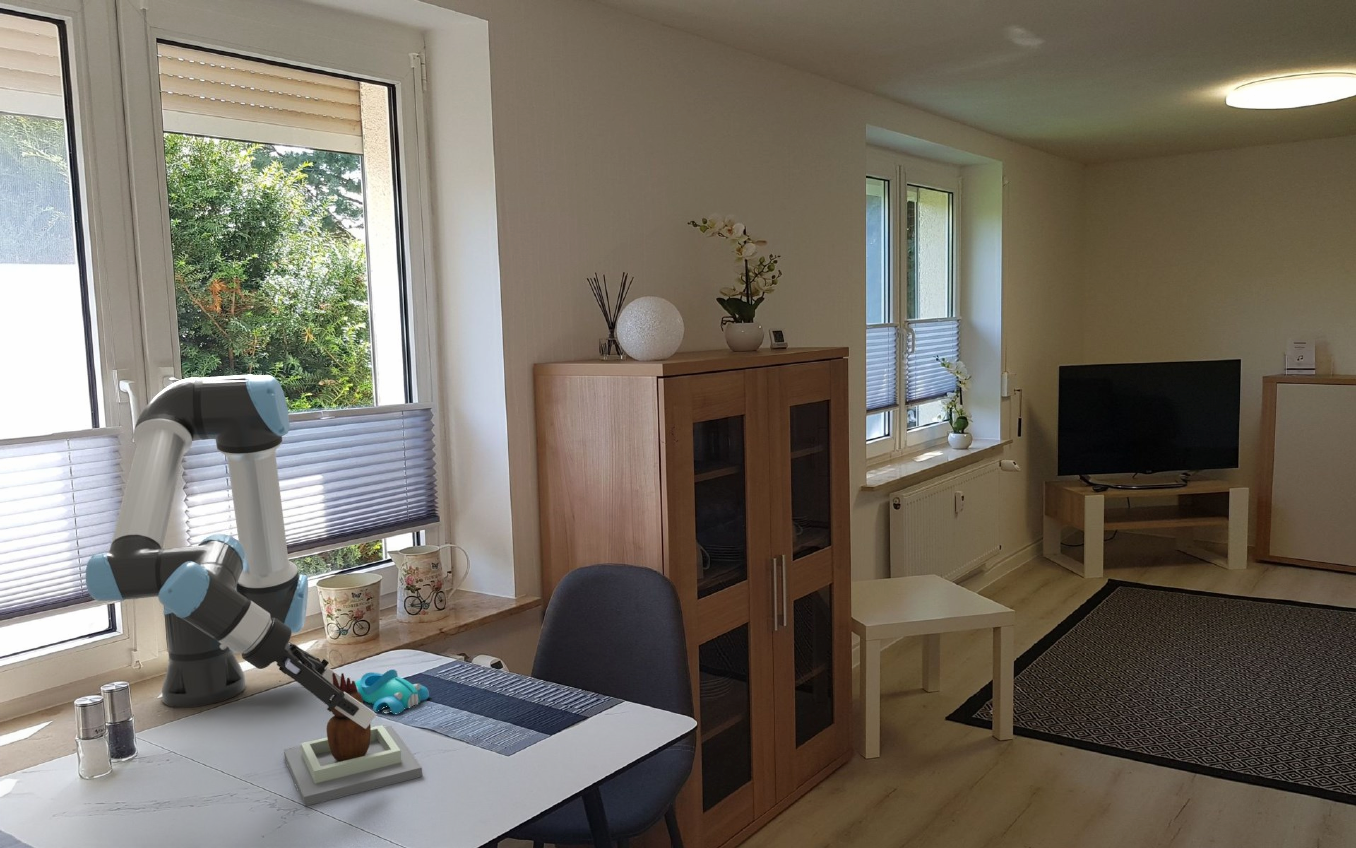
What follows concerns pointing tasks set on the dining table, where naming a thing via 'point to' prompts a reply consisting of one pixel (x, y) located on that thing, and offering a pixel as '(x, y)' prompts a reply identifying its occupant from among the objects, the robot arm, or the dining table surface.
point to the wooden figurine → (347, 728)
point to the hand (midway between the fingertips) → (361, 707)
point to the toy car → (390, 691)
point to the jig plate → (350, 767)
